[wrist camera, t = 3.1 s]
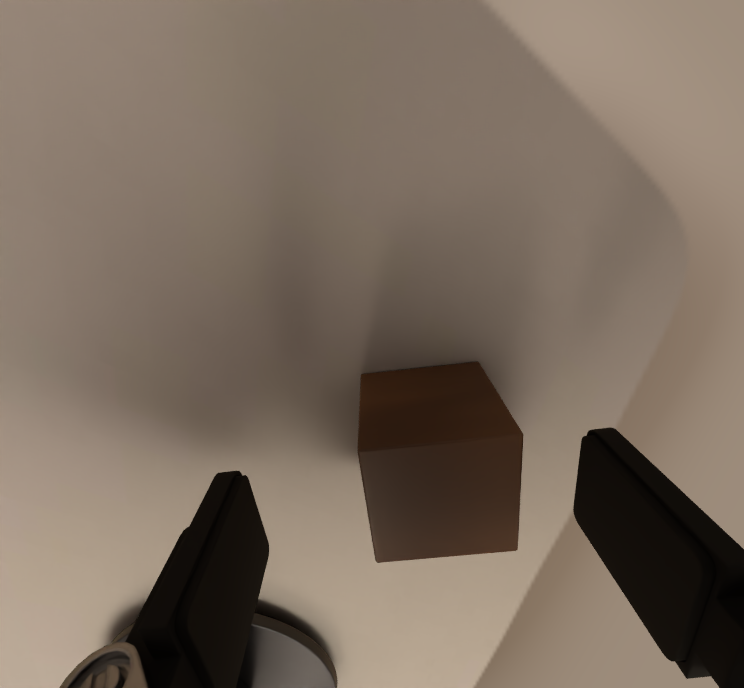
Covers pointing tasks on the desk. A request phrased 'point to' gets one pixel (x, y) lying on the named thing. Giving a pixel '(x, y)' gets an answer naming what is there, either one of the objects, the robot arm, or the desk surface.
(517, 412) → the desk surface
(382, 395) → the block
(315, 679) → the pan lid
